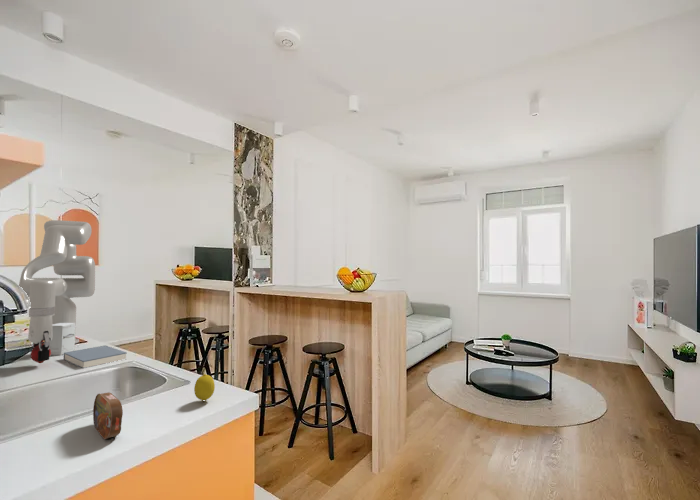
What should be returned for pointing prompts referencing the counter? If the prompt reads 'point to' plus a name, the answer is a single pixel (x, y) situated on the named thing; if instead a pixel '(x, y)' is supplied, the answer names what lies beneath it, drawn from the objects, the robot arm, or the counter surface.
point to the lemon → (204, 387)
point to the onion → (35, 354)
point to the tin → (107, 415)
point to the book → (94, 356)
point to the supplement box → (62, 338)
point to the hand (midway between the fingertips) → (40, 358)
